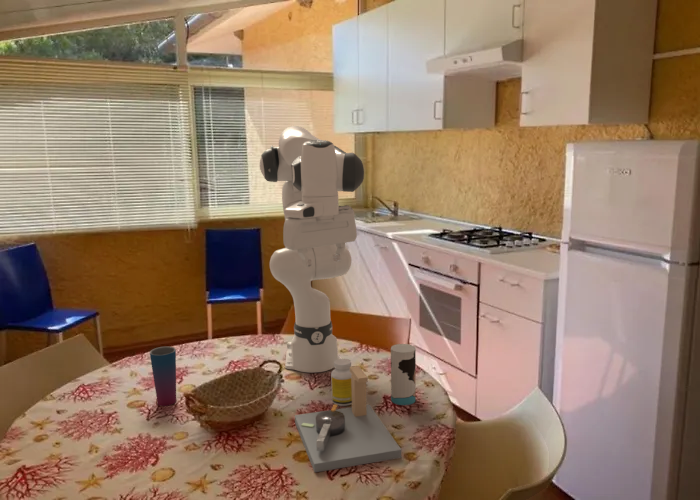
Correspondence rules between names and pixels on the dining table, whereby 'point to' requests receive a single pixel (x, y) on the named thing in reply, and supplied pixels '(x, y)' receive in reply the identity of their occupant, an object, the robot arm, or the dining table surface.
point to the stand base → (350, 434)
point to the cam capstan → (329, 426)
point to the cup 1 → (164, 374)
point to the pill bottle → (341, 382)
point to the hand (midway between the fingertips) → (322, 263)
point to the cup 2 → (403, 374)
